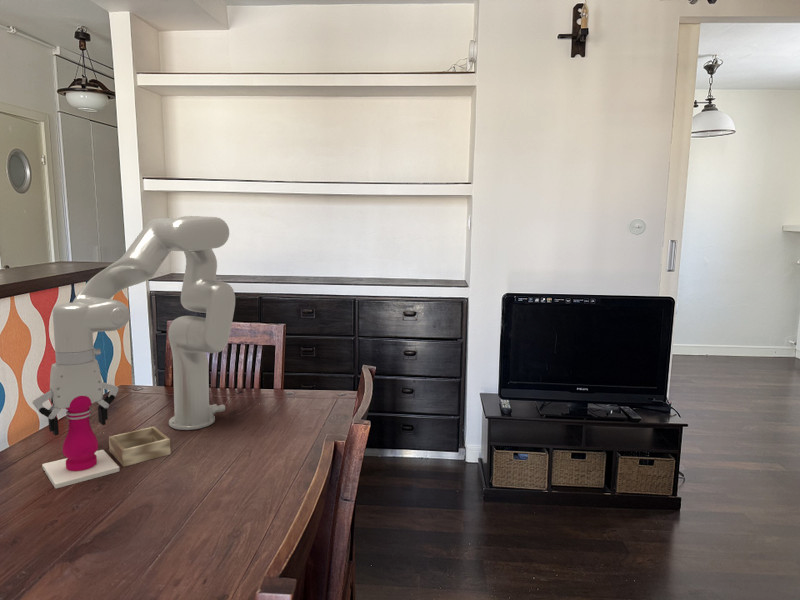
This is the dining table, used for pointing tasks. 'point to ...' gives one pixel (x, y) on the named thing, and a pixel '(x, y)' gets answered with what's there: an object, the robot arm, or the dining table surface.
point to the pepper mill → (80, 436)
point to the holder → (139, 446)
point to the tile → (66, 477)
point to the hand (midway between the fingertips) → (79, 428)
